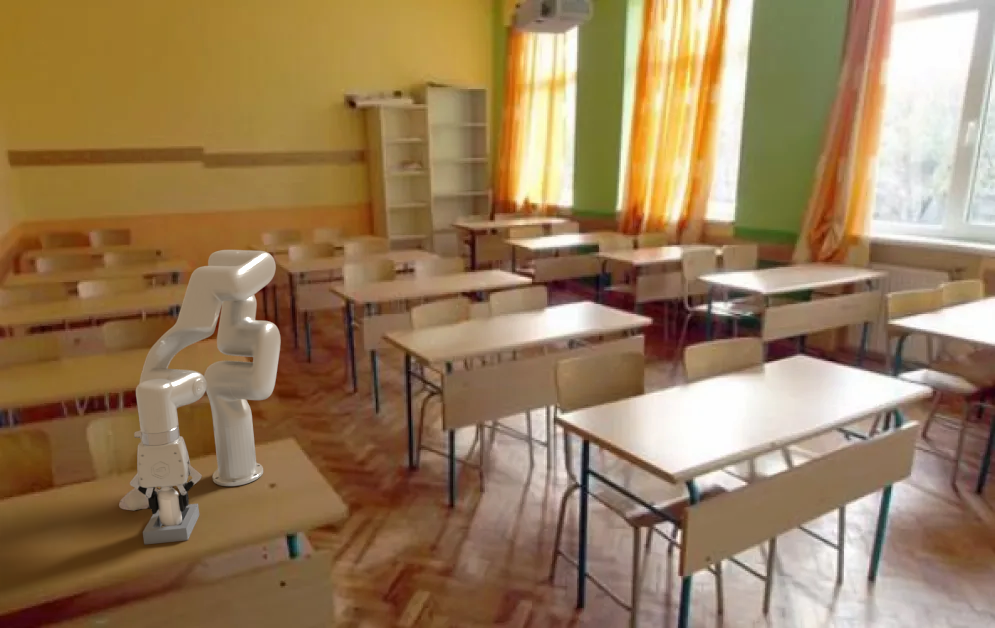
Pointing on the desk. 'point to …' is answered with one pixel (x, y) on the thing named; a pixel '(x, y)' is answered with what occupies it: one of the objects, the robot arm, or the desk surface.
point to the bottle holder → (171, 527)
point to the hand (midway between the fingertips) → (169, 509)
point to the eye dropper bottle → (169, 506)
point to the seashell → (135, 500)
